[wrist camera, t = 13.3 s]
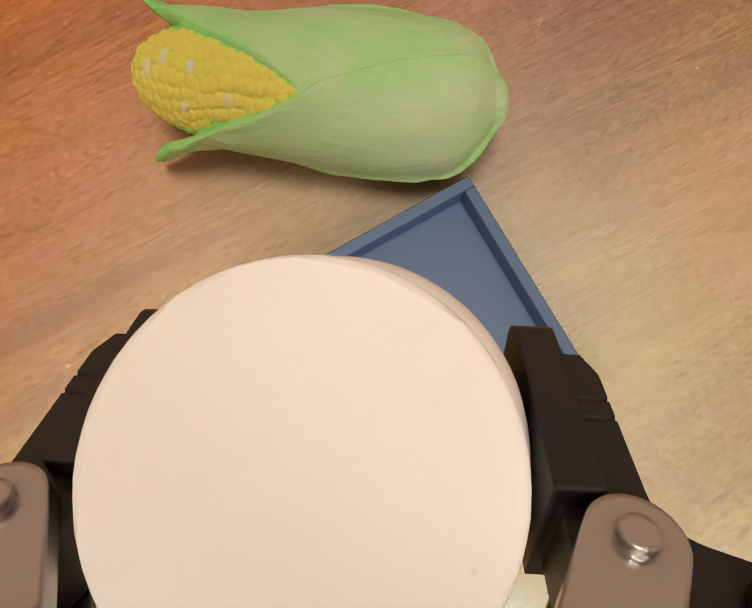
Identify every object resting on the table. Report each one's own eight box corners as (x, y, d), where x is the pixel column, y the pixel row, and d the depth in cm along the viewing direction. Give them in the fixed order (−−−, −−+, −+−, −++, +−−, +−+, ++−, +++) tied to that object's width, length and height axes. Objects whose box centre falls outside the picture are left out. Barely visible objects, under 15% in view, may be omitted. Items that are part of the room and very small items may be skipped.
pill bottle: (502, 457, 16) (752, 618, 5) (321, 565, 16) (155, 992, 5) (398, 280, 17) (413, 83, 6) (225, 379, 16) (-104, 365, 6)
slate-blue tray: (592, 401, 28) (609, 403, 26) (371, 529, 27) (369, 542, 25) (463, 189, 29) (468, 175, 27) (252, 306, 29) (241, 300, 27)
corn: (498, 220, 24) (76, 174, 25) (486, 177, 31) (157, 143, 32) (538, 12, 20) (39, -29, 22) (514, 18, 27) (140, -14, 29)
